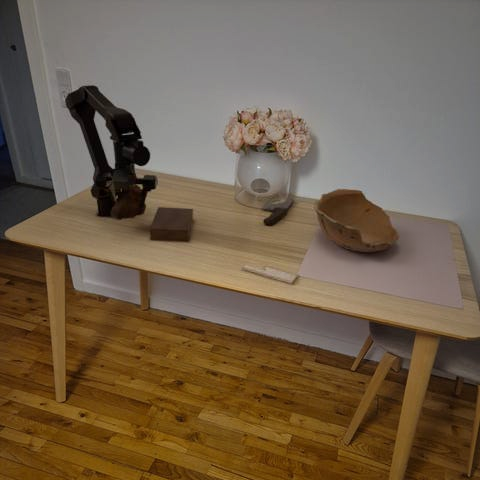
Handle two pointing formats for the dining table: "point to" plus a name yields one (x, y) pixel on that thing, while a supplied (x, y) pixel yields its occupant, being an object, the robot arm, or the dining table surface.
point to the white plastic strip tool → (273, 273)
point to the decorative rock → (128, 204)
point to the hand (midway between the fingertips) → (129, 207)
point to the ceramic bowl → (354, 221)
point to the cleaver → (276, 210)
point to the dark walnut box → (172, 224)
